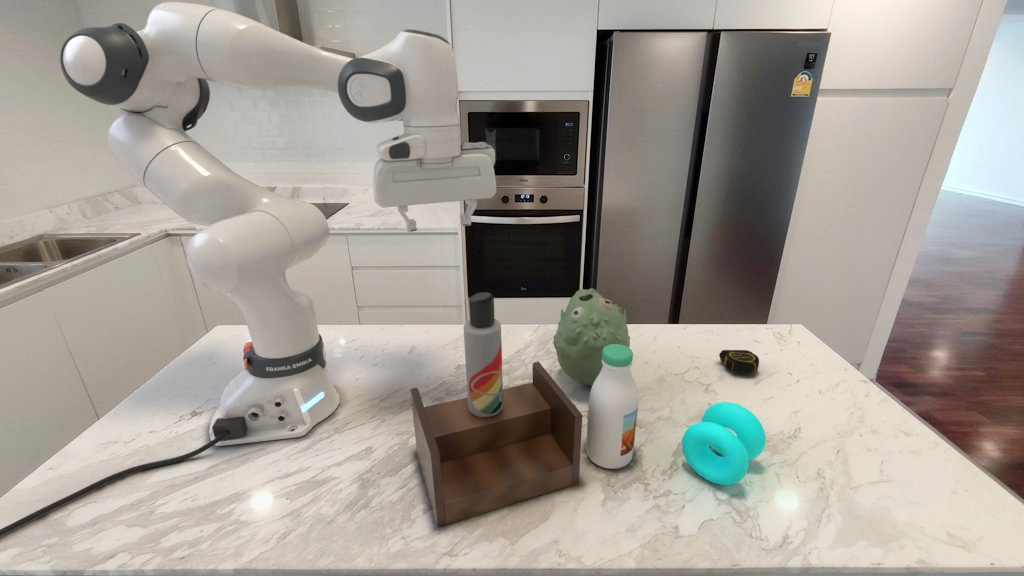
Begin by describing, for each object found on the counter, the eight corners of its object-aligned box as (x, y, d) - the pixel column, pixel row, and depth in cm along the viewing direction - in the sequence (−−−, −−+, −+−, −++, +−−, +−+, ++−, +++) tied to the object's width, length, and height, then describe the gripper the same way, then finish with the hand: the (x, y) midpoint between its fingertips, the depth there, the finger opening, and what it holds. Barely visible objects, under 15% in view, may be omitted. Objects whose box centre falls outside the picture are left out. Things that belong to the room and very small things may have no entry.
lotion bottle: (498, 420, 75) (494, 304, 67) (463, 415, 76) (456, 301, 69) (506, 399, 80) (504, 288, 73) (474, 395, 81) (468, 286, 74)
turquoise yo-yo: (762, 465, 78) (774, 415, 74) (737, 501, 71) (749, 447, 67) (702, 437, 84) (710, 389, 81) (675, 467, 78) (682, 416, 74)
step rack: (437, 527, 68) (430, 454, 63) (417, 453, 81) (409, 388, 76) (578, 483, 75) (582, 414, 70) (538, 422, 89) (538, 361, 84)
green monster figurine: (618, 356, 110) (625, 275, 102) (636, 406, 93) (646, 313, 85) (550, 356, 110) (552, 275, 103) (555, 406, 93) (557, 313, 85)
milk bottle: (604, 477, 76) (613, 368, 68) (576, 447, 82) (582, 345, 75) (642, 460, 79) (654, 355, 72) (612, 433, 86) (621, 334, 78)
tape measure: (749, 362, 107) (752, 347, 106) (762, 379, 101) (765, 363, 99) (717, 361, 108) (720, 346, 106) (729, 378, 101) (731, 363, 100)
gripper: (488, 139, 83) (491, 217, 88) (366, 145, 76) (377, 229, 82) (500, 142, 78) (502, 226, 83) (370, 149, 71) (381, 239, 76)
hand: (439, 228), depth 82 cm, fingers open, 8 cm apart
